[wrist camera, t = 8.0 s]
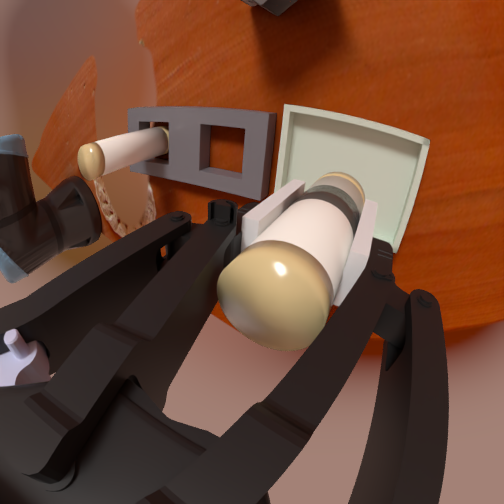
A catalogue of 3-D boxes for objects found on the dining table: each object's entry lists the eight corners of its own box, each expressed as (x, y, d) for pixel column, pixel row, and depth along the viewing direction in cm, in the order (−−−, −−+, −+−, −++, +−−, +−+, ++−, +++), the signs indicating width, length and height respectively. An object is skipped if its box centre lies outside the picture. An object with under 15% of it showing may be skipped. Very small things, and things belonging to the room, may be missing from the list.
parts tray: (278, 207, 29) (271, 214, 28) (291, 104, 23) (284, 104, 22) (396, 244, 25) (396, 253, 24) (426, 138, 19) (430, 140, 17)
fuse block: (140, 167, 36) (130, 171, 34) (138, 107, 31) (127, 108, 30) (267, 195, 29) (260, 200, 28) (276, 113, 24) (268, 113, 23)
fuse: (154, 152, 34) (80, 178, 24) (153, 125, 31) (76, 144, 22) (174, 154, 32) (97, 182, 23) (175, 126, 30) (94, 145, 21)
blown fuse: (316, 165, 18) (217, 241, 8) (371, 180, 16) (340, 284, 7) (307, 215, 20) (216, 325, 10) (357, 231, 18) (308, 364, 9)
